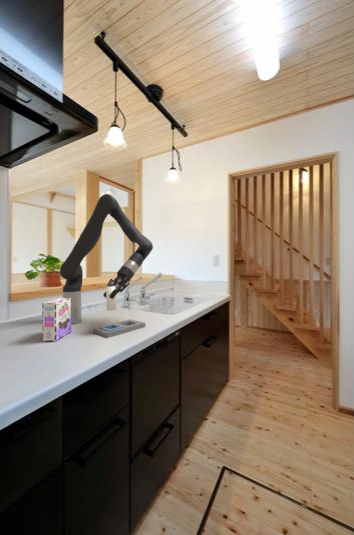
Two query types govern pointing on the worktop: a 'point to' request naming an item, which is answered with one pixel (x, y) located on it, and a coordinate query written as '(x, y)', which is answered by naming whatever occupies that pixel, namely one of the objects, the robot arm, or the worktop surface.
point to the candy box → (56, 319)
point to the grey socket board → (118, 328)
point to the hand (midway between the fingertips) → (107, 297)
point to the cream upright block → (110, 302)
